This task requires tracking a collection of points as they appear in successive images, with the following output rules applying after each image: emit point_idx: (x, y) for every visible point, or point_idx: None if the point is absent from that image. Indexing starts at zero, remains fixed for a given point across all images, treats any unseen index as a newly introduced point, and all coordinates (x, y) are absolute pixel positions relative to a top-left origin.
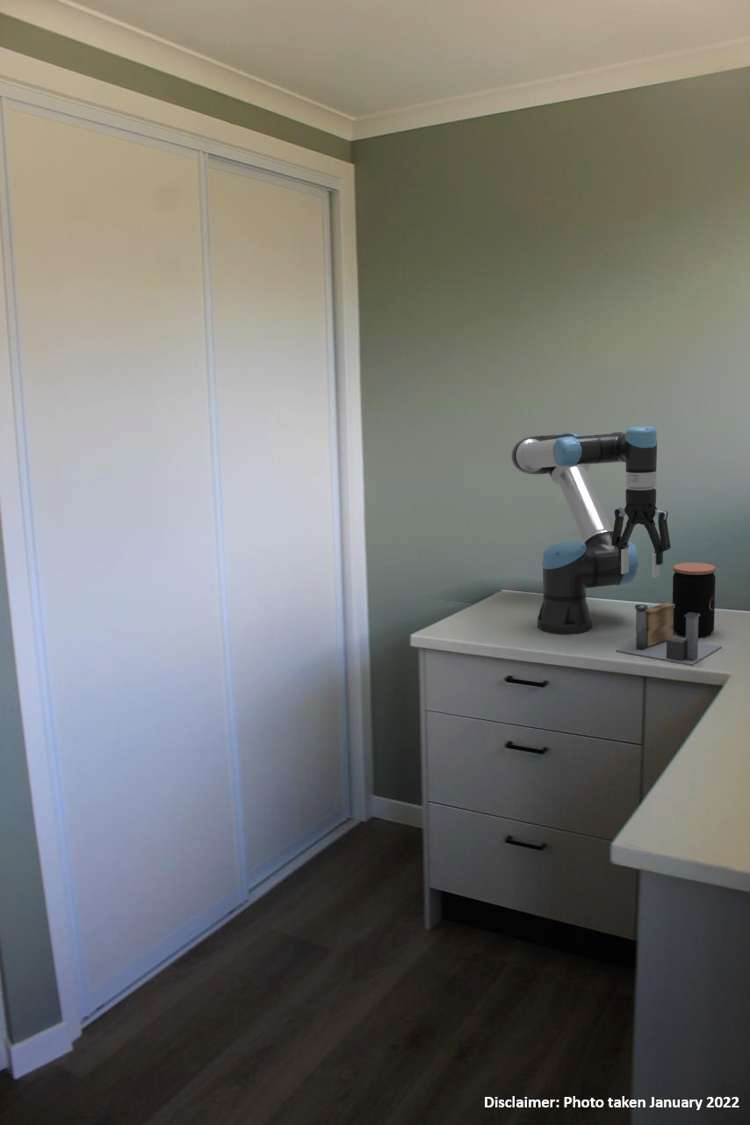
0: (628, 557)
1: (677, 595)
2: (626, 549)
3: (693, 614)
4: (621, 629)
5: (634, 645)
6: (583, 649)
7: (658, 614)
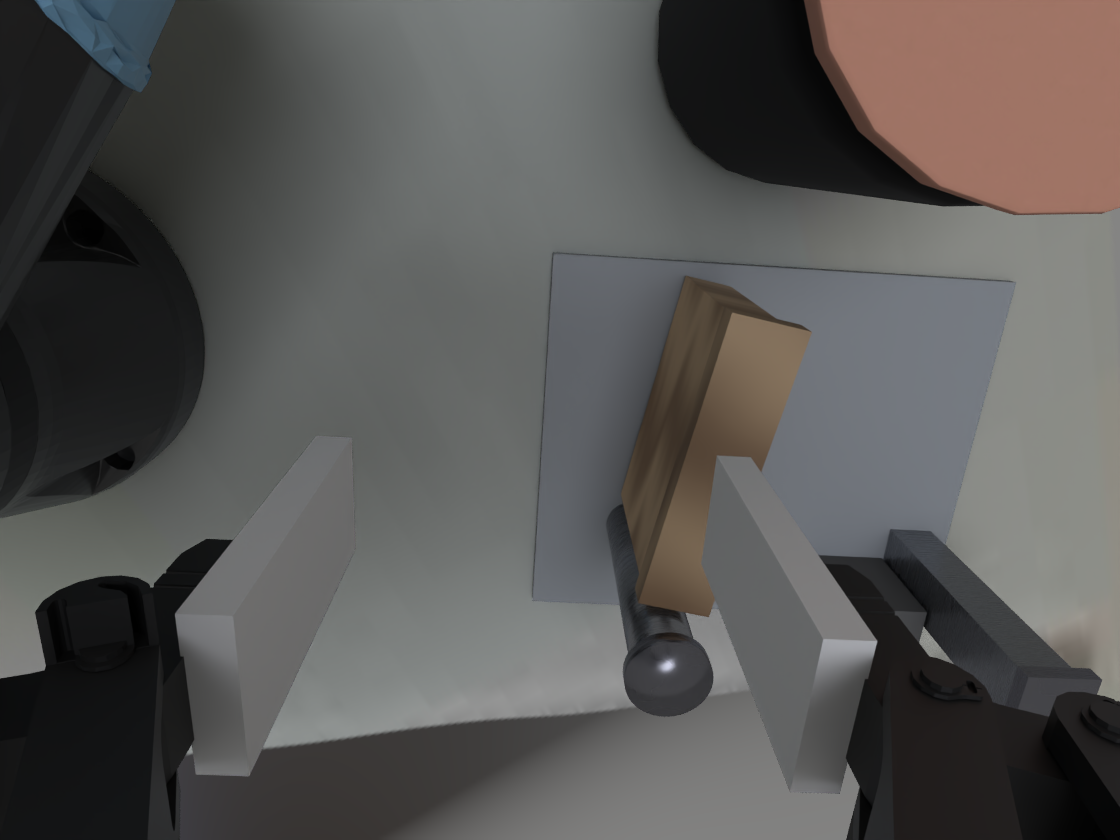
0: (293, 534)
1: (802, 169)
2: (245, 689)
3: None
4: (355, 205)
5: (580, 494)
6: (378, 635)
7: None
